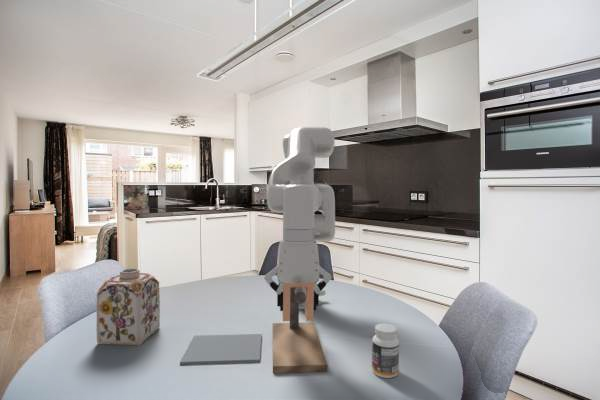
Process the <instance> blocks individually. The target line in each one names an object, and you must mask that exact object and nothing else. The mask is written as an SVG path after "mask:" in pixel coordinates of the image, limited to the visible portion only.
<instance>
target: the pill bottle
mask: <svg viewBox="0 0 600 400" xmlns="http://www.w3.org/2000/svg"><path fill="white" fill-rule="evenodd" d="M374 333H375V335H373V336H372V339H371V342H372V346H371V347H372V349H371V370H372V373H374V375H376V376H378V377H379V378H384V379H392V378H395V377H396V376H397V375H398V374H399V367H400V366H399V362H400V361H399V360H400V359H399V357H400V355H399V354H400V341H399V339H398V337H397V336H398V328H397V327H396V326H395V325H393V324H389V323H378V324H375V326H374Z"/></svg>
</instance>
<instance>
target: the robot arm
mask: <svg viewBox="0 0 600 400" xmlns="http://www.w3.org/2000/svg"><path fill="white" fill-rule="evenodd" d="M335 145H336V144H335V136H334V133H333V131H332V130H331V128H328V127H325V126H324V127H323V126H322V127H320V126H319V127H318V126H317V127H315V126H314V127H311V126H310V127H308V126H306V127H304V126H303V127H296V128H294V129H292V130H291V132H290V133H289V134H286V135H285V136H284V137H283V138H282V149H283V150H282V151H283V154H284V158H285V160H283V161H282V162H280V163H279V164H278V165H277V166H276V167H275V168H274V169H273V170H272V172H271V173H270V175H269V179H268V183H267V191H266V192H267V193H266V204H267V207H268V209H269V210H270V211H271V212H274V213H282V240H280V241H279V243H278V249H277V259H276V260H277V263H276V266H275V267H273V268H272V269H271V270H270V271H269V272H267V273H266V274H264V276H263V277H264V280H265V282H266V283H267V284H268V285H269V286H270V288H271V289H272V290H274V291H273V292H275V293H276V294H277V297H276V299H277V303H276V304H277V307H279V310H280V312H282V310H283V284H284V283H313V282H314V311H317V307H318V306H319V304H320V303H319V301H320V300H319V299H320V298H319V297H322V296H325V295H326V291H325V289H324V288H325V287H326V286H327V284H328V283H329V282H330V281H331V279H333V278H332V275H331V274H330V273H329V272H328V271H326V270H325V269H324V268H323V267H322V266H321V265H320V257H319V256H320V255H319V247H318V243H317V242H322V243H325V242H327V243H328V242H331V241H333V240H334V238H335V234H336V199H335V191H334V189H333V187H332V186H331V185H329V184H323V183H322V184H321V183H318V184H317V183H314V180H315V179H314V177H315V176H314V175H315V172H314V171H315V170H314V169H315V167H316V159H318V158H319V159H325V158H329V157H330V156H331V155H332V154H333V152H334V149H335ZM288 182H289V184H288ZM316 212H321V213H322V214H315V213H316ZM275 275H276V276H277V281H278V282H279V283H278V284H277V282H275V281H274V279H273V277H274V276H275ZM320 275H322V276H323V278H322V280H320ZM302 289H303V292H304V293H305V287H302ZM299 310H305V302H304V303H302V304H299Z"/></svg>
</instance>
